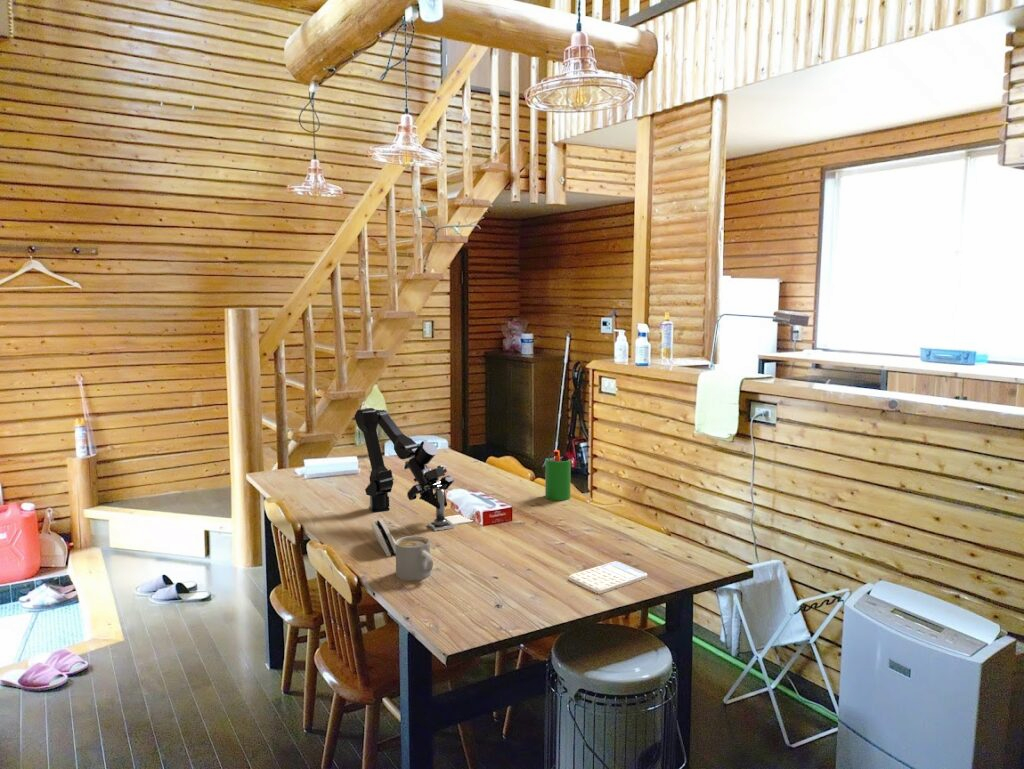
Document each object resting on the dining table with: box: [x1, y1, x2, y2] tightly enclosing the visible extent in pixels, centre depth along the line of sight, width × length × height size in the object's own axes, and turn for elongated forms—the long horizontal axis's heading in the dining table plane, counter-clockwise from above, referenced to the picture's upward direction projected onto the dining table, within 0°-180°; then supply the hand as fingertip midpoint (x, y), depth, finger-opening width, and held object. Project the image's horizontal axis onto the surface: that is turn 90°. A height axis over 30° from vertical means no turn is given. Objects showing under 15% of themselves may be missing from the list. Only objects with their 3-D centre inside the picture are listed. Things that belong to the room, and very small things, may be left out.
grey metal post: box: [433, 488, 448, 527], centre depth 250 cm, size 4×4×14 cm
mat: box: [445, 514, 473, 526], centre depth 258 cm, size 9×9×1 cm
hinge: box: [370, 518, 397, 557], centre depth 230 cm, size 17×5×10 cm, turn 22°
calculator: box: [568, 560, 648, 595], centre depth 204 cm, size 13×20×2 cm, turn 127°
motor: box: [544, 449, 572, 501], centre depth 285 cm, size 10×9×20 cm
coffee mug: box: [395, 535, 434, 582], centre depth 206 cm, size 13×10×10 cm
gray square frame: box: [427, 521, 455, 532], centre depth 250 cm, size 7×7×1 cm
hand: (443, 507), depth 249 cm, fingers closed on grey metal post, 3 cm apart
